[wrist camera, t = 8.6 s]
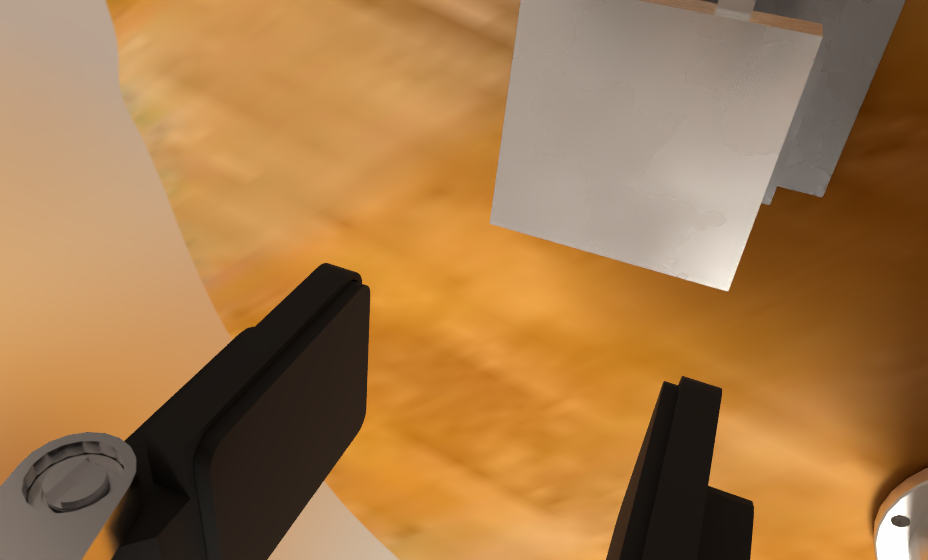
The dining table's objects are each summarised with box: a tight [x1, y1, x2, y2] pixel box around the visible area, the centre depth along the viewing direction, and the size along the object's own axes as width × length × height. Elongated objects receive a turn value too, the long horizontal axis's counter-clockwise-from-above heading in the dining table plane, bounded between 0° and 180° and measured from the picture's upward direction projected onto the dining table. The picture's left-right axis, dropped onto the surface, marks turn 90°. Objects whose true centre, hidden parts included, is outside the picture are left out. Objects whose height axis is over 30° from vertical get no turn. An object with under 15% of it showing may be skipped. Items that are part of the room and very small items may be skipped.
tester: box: [701, 0, 906, 205], centre depth 27 cm, size 14×12×9 cm
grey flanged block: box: [490, 0, 823, 292], centre depth 22 cm, size 7×9×9 cm
